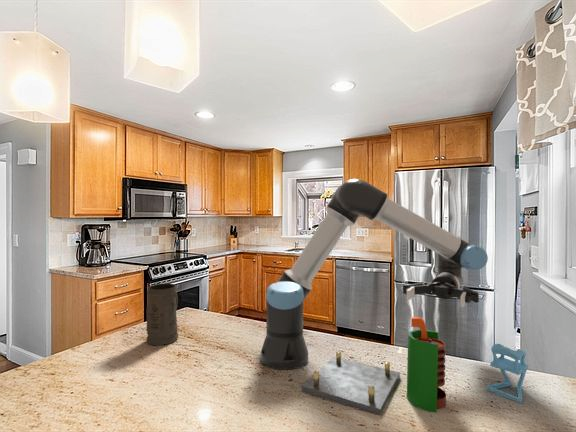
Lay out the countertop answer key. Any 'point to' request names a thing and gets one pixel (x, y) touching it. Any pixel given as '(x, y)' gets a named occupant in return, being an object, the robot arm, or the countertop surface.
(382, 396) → the plate
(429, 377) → the motor
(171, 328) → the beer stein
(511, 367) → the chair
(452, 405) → the countertop surface
